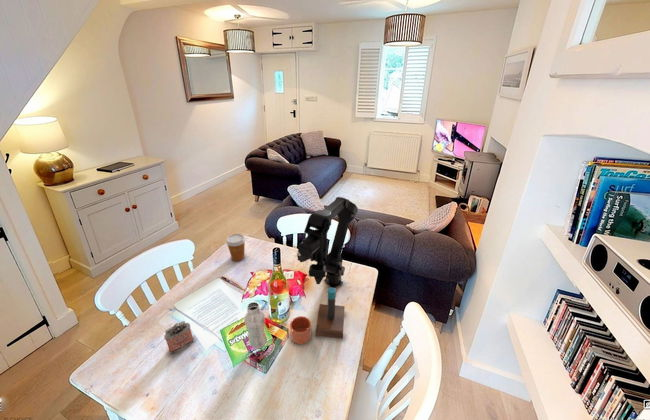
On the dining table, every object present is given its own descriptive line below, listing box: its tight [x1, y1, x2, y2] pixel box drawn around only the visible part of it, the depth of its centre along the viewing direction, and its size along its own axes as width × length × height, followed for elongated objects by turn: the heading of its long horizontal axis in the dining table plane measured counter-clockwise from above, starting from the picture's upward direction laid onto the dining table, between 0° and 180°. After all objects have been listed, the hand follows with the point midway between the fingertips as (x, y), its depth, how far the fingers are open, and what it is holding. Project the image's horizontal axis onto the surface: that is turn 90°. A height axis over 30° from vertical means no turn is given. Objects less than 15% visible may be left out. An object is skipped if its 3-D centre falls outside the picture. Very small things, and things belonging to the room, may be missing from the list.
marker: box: [326, 287, 337, 320], centre depth 99 cm, size 3×3×13 cm
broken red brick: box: [163, 320, 195, 355], centre depth 92 cm, size 8×3×10 cm, turn 134°
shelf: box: [315, 303, 346, 340], centre depth 103 cm, size 12×10×4 cm
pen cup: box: [289, 315, 312, 345], centre depth 98 cm, size 7×7×6 cm
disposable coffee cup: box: [225, 233, 246, 262], centre depth 139 cm, size 10×10×12 cm
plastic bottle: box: [243, 301, 268, 349], centre depth 89 cm, size 6×7×20 cm
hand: (319, 276), depth 109 cm, fingers open, 9 cm apart
